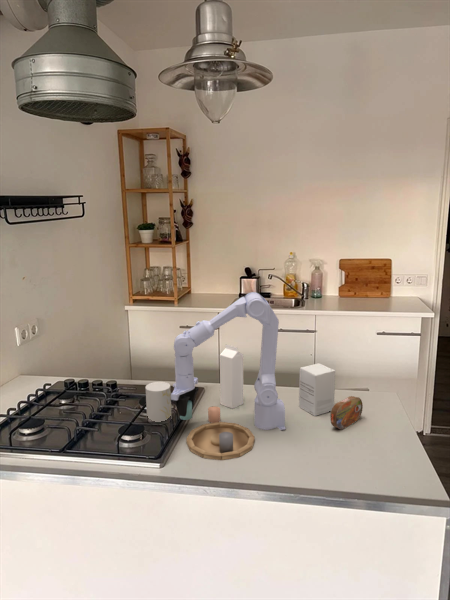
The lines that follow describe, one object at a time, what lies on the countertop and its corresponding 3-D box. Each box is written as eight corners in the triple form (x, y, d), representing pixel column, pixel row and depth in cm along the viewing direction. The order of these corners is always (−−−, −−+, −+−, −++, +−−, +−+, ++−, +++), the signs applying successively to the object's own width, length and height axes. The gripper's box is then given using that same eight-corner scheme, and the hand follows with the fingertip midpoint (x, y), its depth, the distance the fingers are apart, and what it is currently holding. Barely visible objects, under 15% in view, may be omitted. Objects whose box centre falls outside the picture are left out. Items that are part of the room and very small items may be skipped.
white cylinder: (167, 426, 153) (165, 392, 150) (143, 424, 154) (141, 390, 152) (174, 415, 161) (173, 382, 158) (152, 413, 162) (150, 380, 160)
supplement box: (317, 401, 171) (318, 362, 168) (334, 410, 163) (336, 370, 160) (297, 406, 166) (298, 367, 163) (314, 416, 159) (316, 375, 155)
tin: (336, 433, 148) (337, 408, 146) (328, 429, 150) (328, 405, 148) (362, 418, 157) (364, 394, 156) (354, 415, 160) (356, 392, 158)
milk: (231, 399, 173) (231, 342, 169) (243, 403, 169) (243, 345, 165) (219, 404, 169) (219, 345, 164) (232, 409, 165) (232, 349, 160)
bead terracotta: (218, 419, 157) (218, 405, 156) (221, 424, 154) (221, 410, 153) (206, 421, 156) (206, 407, 155) (210, 426, 153) (209, 412, 151)
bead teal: (190, 413, 152) (190, 399, 151) (193, 418, 148) (193, 404, 147) (178, 415, 151) (178, 400, 150) (181, 420, 147) (180, 405, 146)
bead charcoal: (230, 446, 138) (230, 430, 137) (235, 453, 134) (234, 437, 133) (217, 448, 137) (217, 433, 136) (221, 455, 133) (221, 439, 132)
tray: (241, 424, 154) (241, 418, 153) (263, 455, 135) (263, 448, 134) (181, 434, 148) (181, 427, 147) (196, 467, 129) (196, 460, 129)
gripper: (183, 363, 154) (185, 401, 157) (161, 378, 141) (163, 420, 144) (203, 365, 151) (204, 404, 154) (182, 382, 138) (183, 424, 141)
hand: (185, 412), depth 149 cm, fingers closed on bead teal, 4 cm apart
